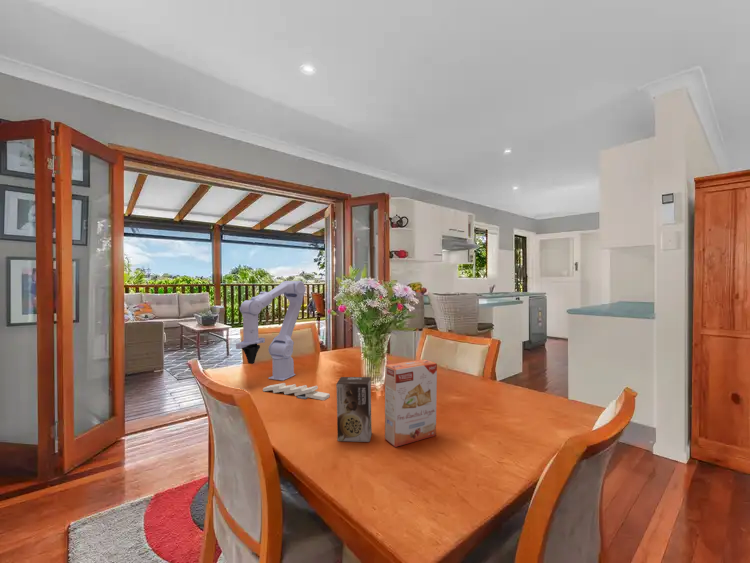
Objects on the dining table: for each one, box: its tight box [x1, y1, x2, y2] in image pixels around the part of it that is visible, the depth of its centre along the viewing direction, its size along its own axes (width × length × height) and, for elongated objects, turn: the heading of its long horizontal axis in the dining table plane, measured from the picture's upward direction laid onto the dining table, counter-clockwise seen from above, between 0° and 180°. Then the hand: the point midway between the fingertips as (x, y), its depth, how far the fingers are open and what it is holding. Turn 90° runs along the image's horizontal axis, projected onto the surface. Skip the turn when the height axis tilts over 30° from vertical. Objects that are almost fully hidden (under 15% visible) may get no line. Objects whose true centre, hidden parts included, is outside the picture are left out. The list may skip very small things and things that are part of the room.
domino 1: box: [262, 382, 287, 392], centre depth 138 cm, size 4×1×8 cm
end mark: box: [295, 394, 309, 400], centre depth 133 cm, size 7×4×1 cm, turn 158°
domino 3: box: [283, 384, 308, 395], centre depth 134 cm, size 4×1×8 cm
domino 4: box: [293, 385, 319, 397], centre depth 133 cm, size 4×1×8 cm
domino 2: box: [272, 383, 297, 394], centre depth 136 cm, size 4×1×8 cm
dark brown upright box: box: [335, 376, 373, 443], centre depth 99 cm, size 9×6×16 cm
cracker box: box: [384, 358, 438, 448], centre depth 98 cm, size 14×6×21 cm, turn 120°
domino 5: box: [305, 390, 330, 401], centre depth 131 cm, size 4×1×8 cm
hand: (251, 363), depth 142 cm, fingers closed
